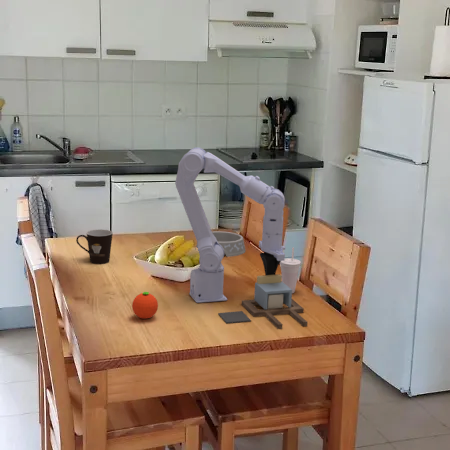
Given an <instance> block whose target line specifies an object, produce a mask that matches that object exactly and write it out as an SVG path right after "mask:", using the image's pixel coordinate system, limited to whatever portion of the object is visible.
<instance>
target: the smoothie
mask: <svg viewBox="0 0 450 450" xmlns="http://www.w3.org/2000/svg"><path fill="white" fill-rule="evenodd" d="M291 249H292V250H291V258H286V257H285V260H284V261H281V262H280V263H279V265H280V272H281V273H280V275H281V276H282V278H281V281H282V282H283V283H284V284H286V285H287V286H288V287H289V288H290V289H292V294H294V293H295V292H296V286H297V281H298V276H299V272H300V267H301V265H302V261H301V260H299V259H296V258H295V257H294V256H295V247H292V248H291Z"/></svg>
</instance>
